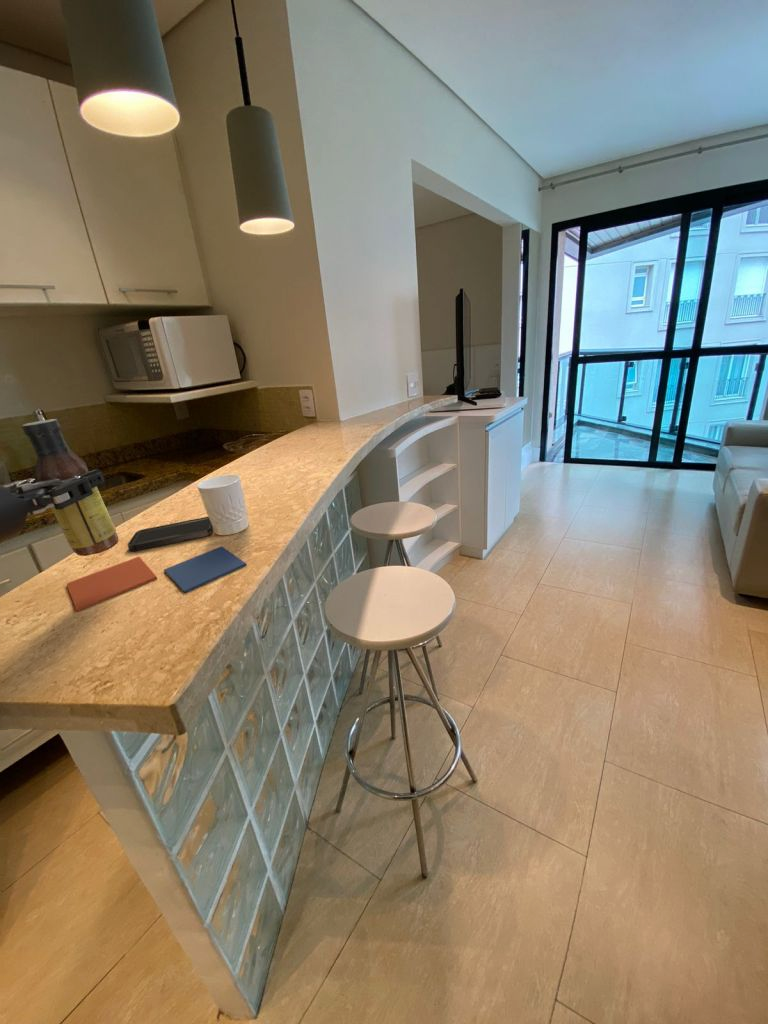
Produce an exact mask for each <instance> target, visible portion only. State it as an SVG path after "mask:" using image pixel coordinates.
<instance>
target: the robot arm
mask: <svg viewBox="0 0 768 1024" xmlns="http://www.w3.org/2000/svg"><path fill="white" fill-rule="evenodd" d="M88 471H89V472H87V473H84V474H81V475H78V476H73V477H71V478H68V479H64V480H59V479H56V478H53V479H49V480H45V481H41V482H39V481H38V479H37V478H27V479H24V480H12V481H11V482H8V483H5V484H0V543H2V542H4V541H6V540H9V539H11V538H13V537H16V536H17V535H19V534H20V533H22V531H23V530H24V529H25V526H26V521H27V517H28V516H34V515H38V514H41V513H44V512H45V511H47V509H51V507H55V509H64V508H65V507H67V506H69V505H72V504H74V503H76V502H78V501H80V500H82V499H84V498H86V497H88V496H91V495H92V494H94V493H93V491H92V488H94V487H96V486H97V487H99V486H101V485H104V484H105V482H106V481H105V477H104V474H103V472H102V470H101V469H92V470H88ZM48 485H54V488H52V489H51V490H50V488H49V487H48Z"/></svg>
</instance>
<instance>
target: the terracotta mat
mask: <svg viewBox="0 0 768 1024" xmlns="http://www.w3.org/2000/svg"><path fill="white" fill-rule="evenodd" d="M157 579H158V576H157V575H156V574H155V573H154V572H153V570H152V569H151V568H150V567H149V566H148V565H147V564H146V562H145V561H144V560H143V559H142V558H141V557H140V556H136V557H134V558H131V559H129V560H125V561H122V562H120V563H117V564H115V565H112V566H109V567H107V568H104V569H102V570H98V571H96V572H93V573H91V574H88V575H86V576H85V575H84V576H83V577H81V578H77V579H75V580H72V581H70V582H67V583H66V587H67V589H68V591H69V594H70V596H71V600H72V602H73V605H74V607H75V609H76V612H77V613H78V612H80V611H82V610H85V609H87V608H89V607H90V608H91V607H92V606H95V605H97V604H99V603H102V602H104V601H107V600H109V599H112V598H114V597H116V596H119V595H121V594H123V593H126V592H128V591H131V590H133V589H136V588H138V587H140V586H143V585H145V584H147V583H150V582H152V581H155V580H157Z"/></svg>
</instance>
